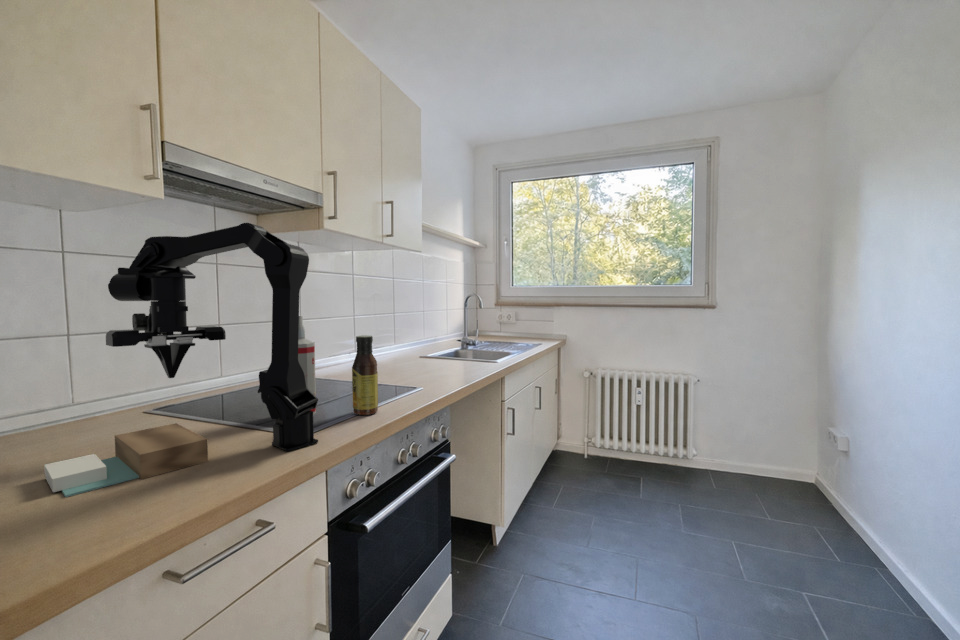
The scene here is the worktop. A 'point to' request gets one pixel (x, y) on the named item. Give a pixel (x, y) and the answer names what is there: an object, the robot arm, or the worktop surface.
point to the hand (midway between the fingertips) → (171, 377)
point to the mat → (115, 475)
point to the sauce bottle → (365, 378)
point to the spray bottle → (307, 359)
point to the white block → (74, 472)
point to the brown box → (160, 449)
